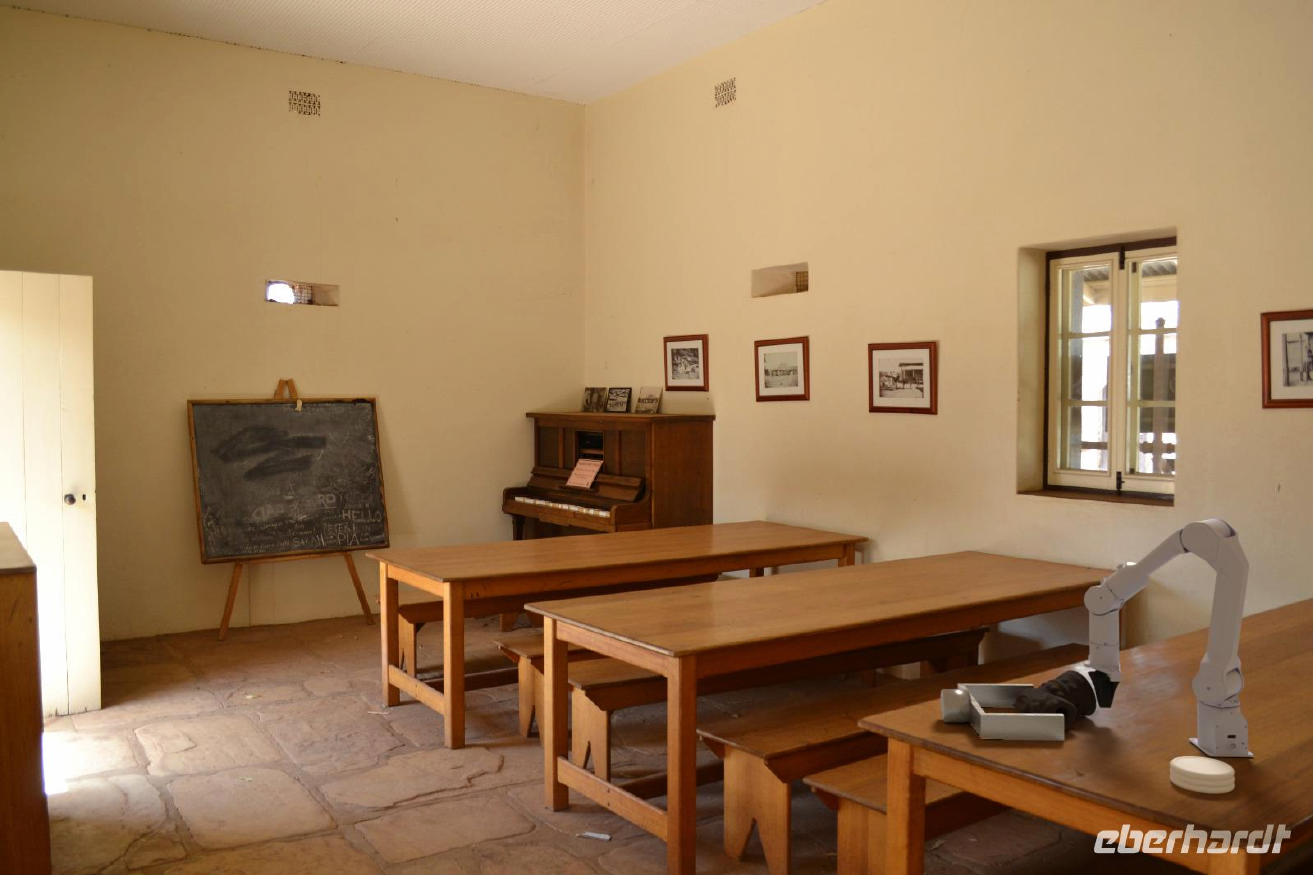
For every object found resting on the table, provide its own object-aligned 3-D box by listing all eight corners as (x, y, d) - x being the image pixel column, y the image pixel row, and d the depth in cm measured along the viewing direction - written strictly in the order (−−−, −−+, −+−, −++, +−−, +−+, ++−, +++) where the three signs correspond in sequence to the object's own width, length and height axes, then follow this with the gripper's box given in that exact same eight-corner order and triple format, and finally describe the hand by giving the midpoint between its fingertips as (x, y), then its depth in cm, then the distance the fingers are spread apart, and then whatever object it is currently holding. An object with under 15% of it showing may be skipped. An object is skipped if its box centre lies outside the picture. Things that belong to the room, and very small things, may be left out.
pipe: (1040, 697, 205) (1104, 678, 208) (1000, 683, 220) (1060, 665, 223) (1050, 744, 205) (1114, 724, 208) (1009, 726, 220) (1069, 708, 223)
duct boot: (1064, 740, 201) (1064, 706, 201) (954, 739, 203) (953, 705, 203) (1032, 706, 224) (1032, 676, 224) (934, 705, 226) (933, 675, 226)
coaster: (1208, 772, 183) (1207, 753, 183) (1248, 792, 173) (1248, 772, 173) (1157, 776, 181) (1157, 757, 181) (1195, 797, 172) (1195, 776, 171)
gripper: (1073, 634, 219) (1074, 697, 219) (1095, 650, 204) (1096, 717, 205) (1107, 634, 218) (1108, 697, 218) (1132, 650, 204) (1132, 717, 204)
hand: (1104, 707), depth 211 cm, fingers closed
